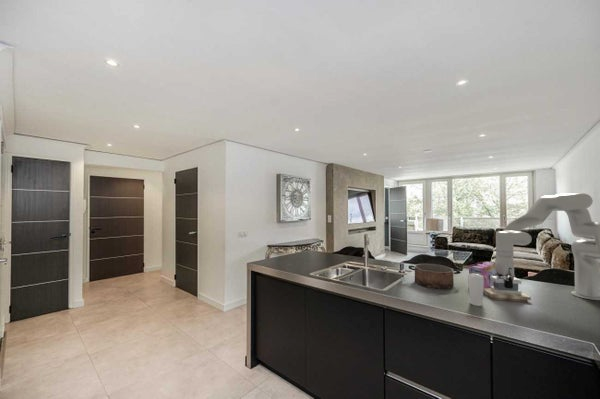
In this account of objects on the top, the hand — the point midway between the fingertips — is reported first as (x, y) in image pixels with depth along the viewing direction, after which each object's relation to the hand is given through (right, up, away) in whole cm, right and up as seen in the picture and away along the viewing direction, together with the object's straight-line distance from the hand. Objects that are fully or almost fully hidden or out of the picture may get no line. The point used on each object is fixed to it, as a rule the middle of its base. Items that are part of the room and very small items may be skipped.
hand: (505, 285), depth 141 cm
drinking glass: (-23, -7, -9) cm, 25 cm away
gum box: (+3, -7, +21) cm, 22 cm away
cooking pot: (-27, -8, +24) cm, 37 cm away
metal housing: (0, -4, 0) cm, 4 cm away
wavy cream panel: (0, -7, 0) cm, 7 cm away
